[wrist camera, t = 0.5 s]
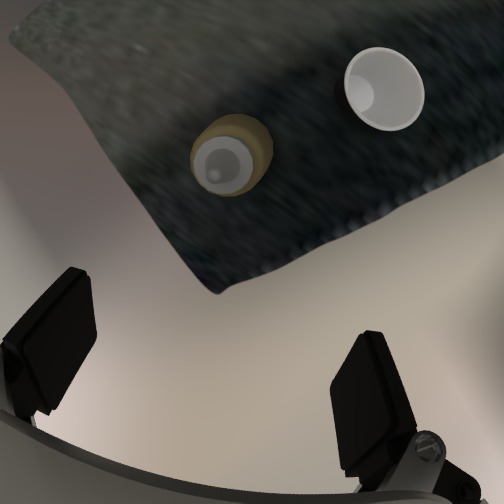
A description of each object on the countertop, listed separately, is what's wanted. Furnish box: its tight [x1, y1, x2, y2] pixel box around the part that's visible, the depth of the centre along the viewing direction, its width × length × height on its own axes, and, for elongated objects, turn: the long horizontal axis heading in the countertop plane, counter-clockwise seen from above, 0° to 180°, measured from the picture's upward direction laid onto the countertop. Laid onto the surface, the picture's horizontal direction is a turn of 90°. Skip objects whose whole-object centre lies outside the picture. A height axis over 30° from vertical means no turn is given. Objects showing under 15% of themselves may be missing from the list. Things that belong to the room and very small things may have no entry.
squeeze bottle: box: [190, 114, 273, 197], centre depth 27 cm, size 8×8×18 cm
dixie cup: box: [335, 47, 424, 131], centre depth 27 cm, size 8×8×11 cm
